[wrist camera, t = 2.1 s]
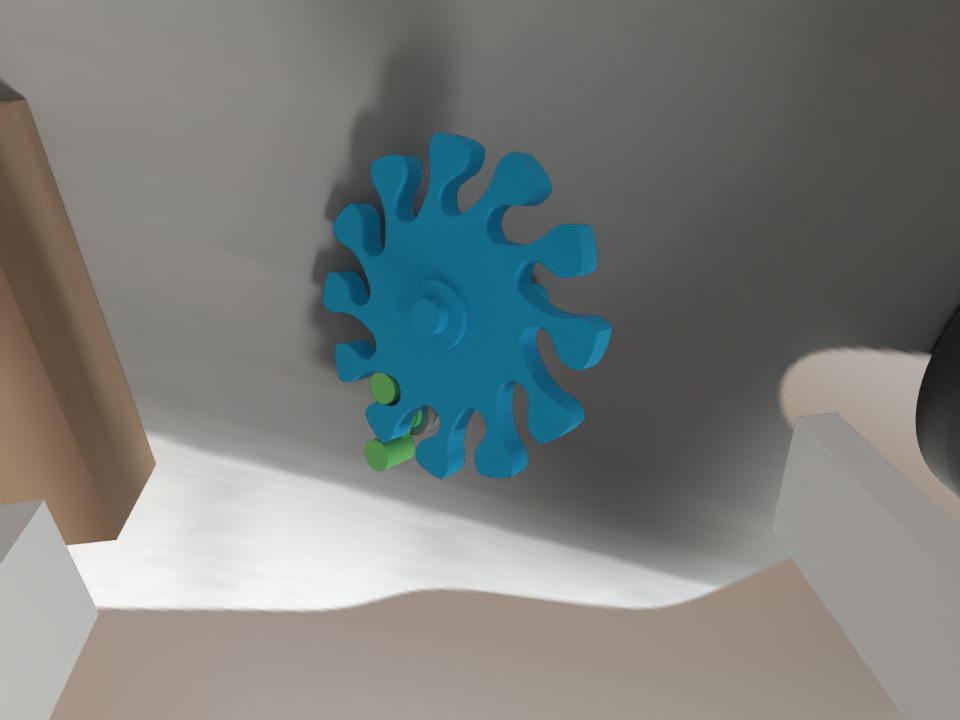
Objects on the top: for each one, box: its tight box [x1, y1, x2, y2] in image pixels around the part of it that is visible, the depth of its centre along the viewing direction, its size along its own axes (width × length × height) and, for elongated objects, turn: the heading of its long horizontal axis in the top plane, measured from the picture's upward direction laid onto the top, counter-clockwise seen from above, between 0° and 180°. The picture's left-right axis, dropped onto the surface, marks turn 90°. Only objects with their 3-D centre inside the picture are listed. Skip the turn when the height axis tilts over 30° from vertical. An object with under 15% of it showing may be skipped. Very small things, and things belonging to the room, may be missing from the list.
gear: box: [322, 132, 612, 479], centre depth 21 cm, size 11×6×10 cm
